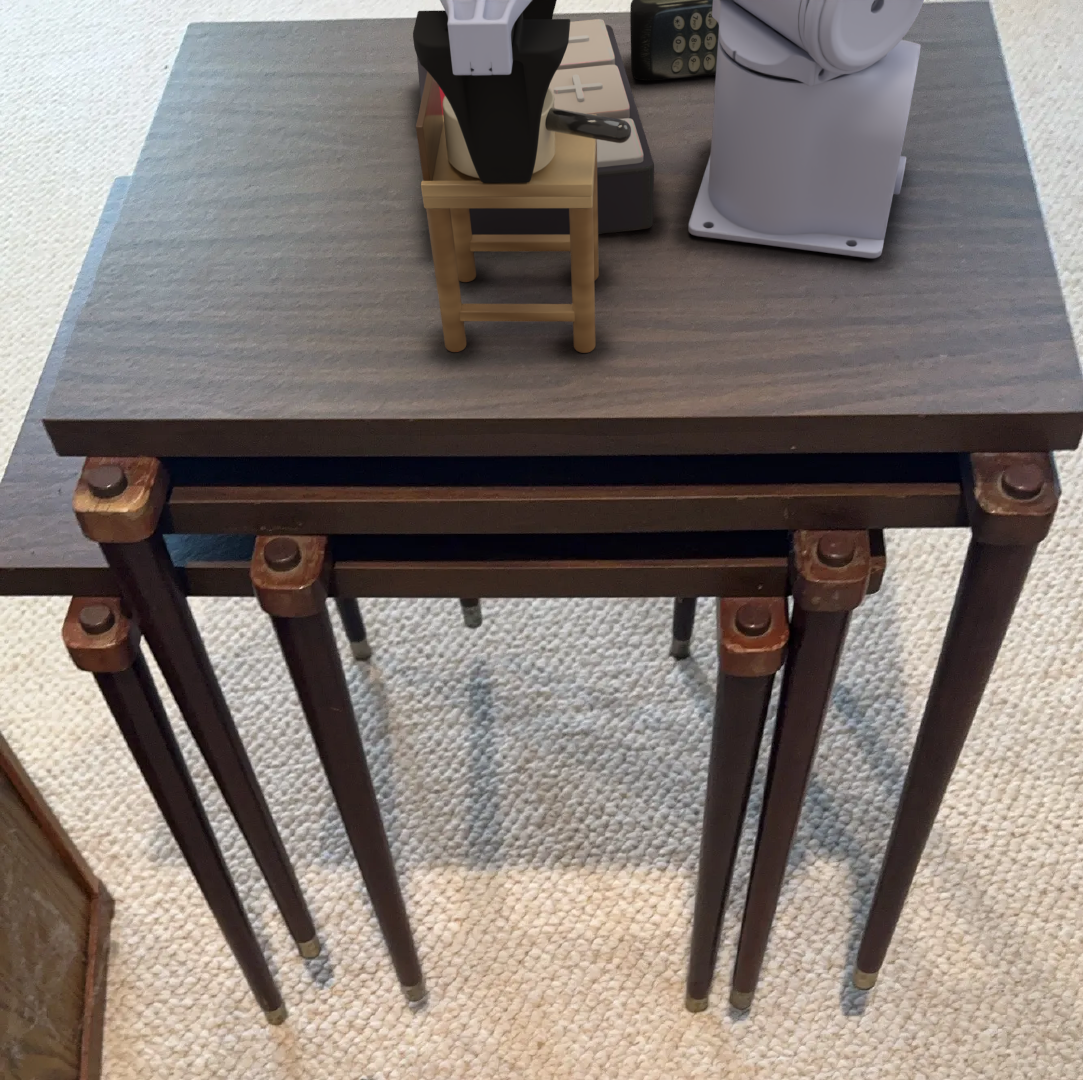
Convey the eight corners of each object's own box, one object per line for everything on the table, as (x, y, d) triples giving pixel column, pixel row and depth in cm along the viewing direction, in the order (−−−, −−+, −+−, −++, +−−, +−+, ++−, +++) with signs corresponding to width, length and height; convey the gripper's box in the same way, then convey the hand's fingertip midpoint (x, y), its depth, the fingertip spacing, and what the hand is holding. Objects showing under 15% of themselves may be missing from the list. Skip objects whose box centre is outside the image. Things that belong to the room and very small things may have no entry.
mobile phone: (632, 10, 69) (909, -22, 69) (625, -18, 71) (894, -49, 71) (634, 93, 73) (896, 62, 73) (626, 64, 75) (882, 35, 75)
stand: (599, 269, 63) (597, 125, 57) (595, 353, 59) (592, 208, 53) (457, 269, 63) (439, 126, 57) (444, 352, 59) (424, 209, 53)
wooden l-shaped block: (597, 125, 57) (596, 52, 54) (592, 208, 53) (591, 134, 50) (439, 126, 57) (430, 53, 54) (424, 209, 53) (413, 135, 51)
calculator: (611, 8, 71) (656, 152, 61) (612, 81, 74) (654, 229, 64) (413, 28, 71) (426, 176, 61) (423, 100, 74) (436, 252, 64)
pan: (428, 169, 53) (423, 114, 52) (474, 118, 56) (470, 64, 55) (610, 204, 51) (611, 147, 49) (647, 148, 54) (649, 93, 52)
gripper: (396, -288, 48) (435, 48, 59) (334, -112, 39) (394, 248, 50) (583, -293, 48) (589, 46, 58) (565, -117, 39) (576, 248, 49)
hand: (510, 139), depth 54 cm, fingers closed on pan, 5 cm apart
